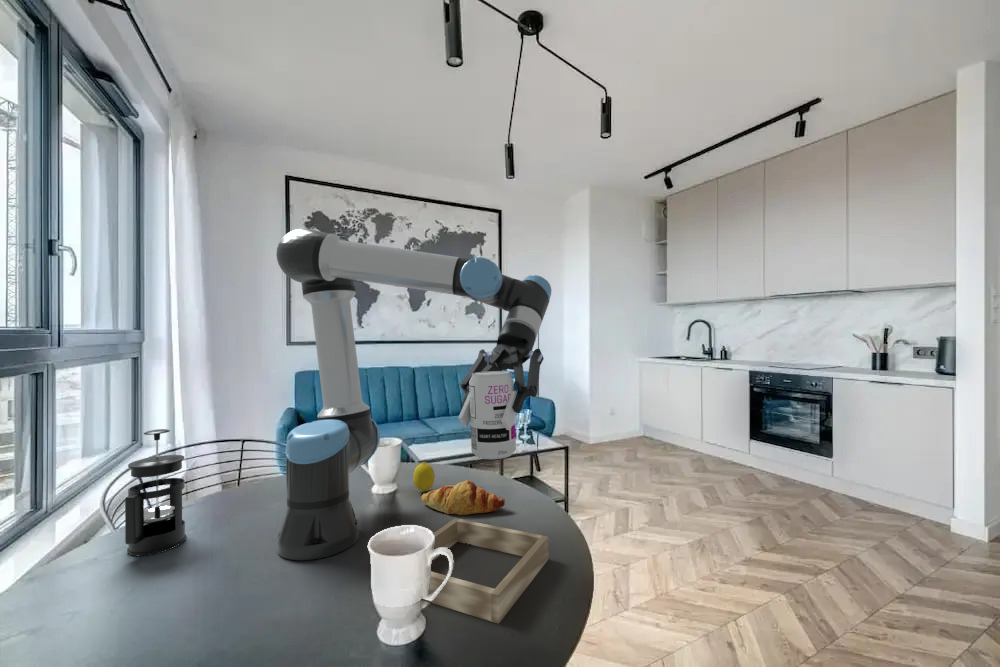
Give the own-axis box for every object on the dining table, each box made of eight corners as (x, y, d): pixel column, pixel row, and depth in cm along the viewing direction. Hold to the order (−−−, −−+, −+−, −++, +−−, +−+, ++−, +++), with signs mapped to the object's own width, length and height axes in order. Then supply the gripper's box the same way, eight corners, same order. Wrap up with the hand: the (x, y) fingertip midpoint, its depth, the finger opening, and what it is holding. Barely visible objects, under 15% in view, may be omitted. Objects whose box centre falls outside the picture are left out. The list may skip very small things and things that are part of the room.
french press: (156, 533, 93) (156, 425, 93) (199, 532, 93) (198, 424, 93) (105, 561, 81) (104, 437, 81) (154, 560, 81) (153, 436, 81)
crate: (388, 589, 70) (388, 564, 70) (455, 537, 88) (455, 518, 88) (498, 623, 61) (498, 595, 61) (548, 558, 79) (548, 536, 79)
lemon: (430, 496, 112) (429, 465, 112) (410, 495, 113) (409, 464, 113) (437, 489, 117) (437, 459, 117) (418, 488, 118) (417, 458, 118)
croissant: (416, 524, 104) (408, 499, 100) (431, 491, 112) (424, 468, 109) (503, 530, 98) (497, 505, 95) (511, 495, 107) (506, 471, 103)
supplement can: (491, 445, 86) (489, 370, 86) (524, 452, 81) (522, 371, 81) (462, 455, 80) (459, 374, 80) (496, 463, 75) (493, 375, 75)
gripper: (571, 344, 89) (544, 440, 75) (483, 345, 99) (444, 431, 85) (561, 317, 84) (531, 415, 70) (469, 322, 94) (426, 408, 80)
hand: (483, 424), depth 77 cm, fingers closed on supplement can, 8 cm apart
